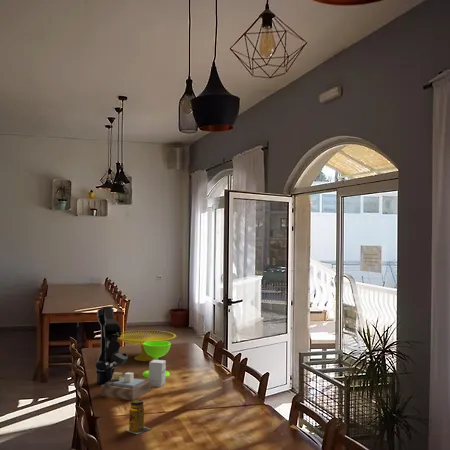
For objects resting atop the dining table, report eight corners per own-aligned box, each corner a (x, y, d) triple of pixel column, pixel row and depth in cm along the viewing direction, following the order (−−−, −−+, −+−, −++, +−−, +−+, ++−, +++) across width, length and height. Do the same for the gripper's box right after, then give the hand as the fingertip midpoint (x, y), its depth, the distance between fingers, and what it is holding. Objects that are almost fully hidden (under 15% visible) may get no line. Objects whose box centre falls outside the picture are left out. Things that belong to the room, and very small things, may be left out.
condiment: (124, 430, 229) (125, 401, 230) (140, 425, 236) (140, 396, 236) (136, 434, 225) (137, 405, 225) (151, 429, 231) (152, 400, 231)
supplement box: (161, 387, 295) (162, 363, 295) (148, 385, 297) (148, 362, 297) (165, 383, 302) (166, 360, 303) (152, 382, 304) (153, 359, 304)
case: (100, 395, 277) (101, 383, 277) (119, 386, 294) (119, 374, 294) (132, 400, 271) (133, 387, 271) (149, 390, 288) (150, 378, 288)
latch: (111, 379, 283) (111, 373, 283) (115, 377, 287) (115, 371, 287) (119, 380, 281) (119, 374, 281) (123, 378, 285) (123, 372, 285)
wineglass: (136, 376, 316) (137, 344, 317) (150, 370, 331) (151, 339, 332) (161, 379, 310) (162, 347, 311) (174, 373, 325) (175, 342, 325)
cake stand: (172, 366, 341) (173, 342, 341) (107, 364, 341) (108, 340, 342) (179, 352, 381) (179, 330, 381) (120, 351, 382) (121, 329, 382)
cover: (112, 385, 278) (112, 374, 278) (124, 379, 289) (124, 369, 289) (133, 387, 274) (133, 377, 274) (144, 382, 285) (145, 371, 285)
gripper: (115, 353, 266) (114, 385, 266) (134, 346, 284) (133, 376, 284) (95, 350, 270) (94, 383, 270) (115, 344, 288) (114, 374, 287)
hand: (110, 379), depth 278 cm, fingers closed
